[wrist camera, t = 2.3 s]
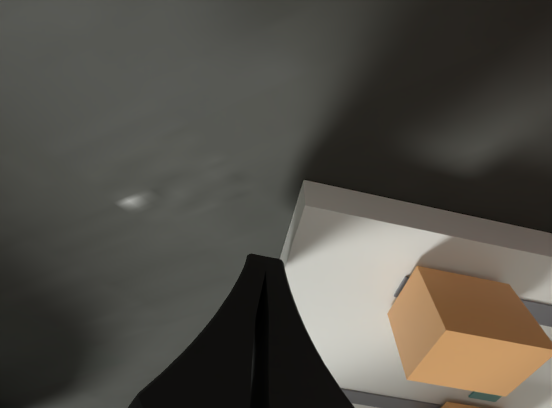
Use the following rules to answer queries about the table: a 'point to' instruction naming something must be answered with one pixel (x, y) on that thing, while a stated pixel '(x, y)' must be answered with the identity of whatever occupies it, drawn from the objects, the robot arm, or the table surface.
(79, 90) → the table surface
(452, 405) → the tan wooden block
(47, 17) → the table surface
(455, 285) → the orange small block
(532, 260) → the switch panel
